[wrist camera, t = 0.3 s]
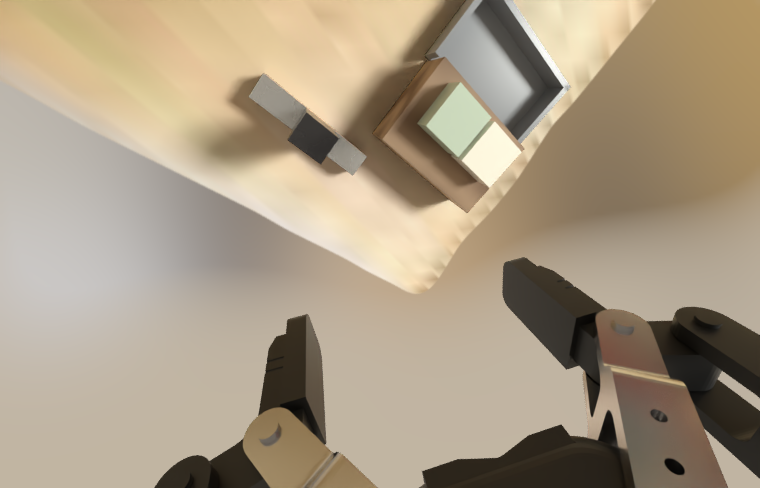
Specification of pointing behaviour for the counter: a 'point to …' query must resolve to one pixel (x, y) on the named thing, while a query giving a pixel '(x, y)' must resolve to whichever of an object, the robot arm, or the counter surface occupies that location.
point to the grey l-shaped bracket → (306, 126)
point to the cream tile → (488, 154)
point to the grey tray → (502, 62)
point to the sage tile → (454, 119)
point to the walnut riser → (420, 146)
